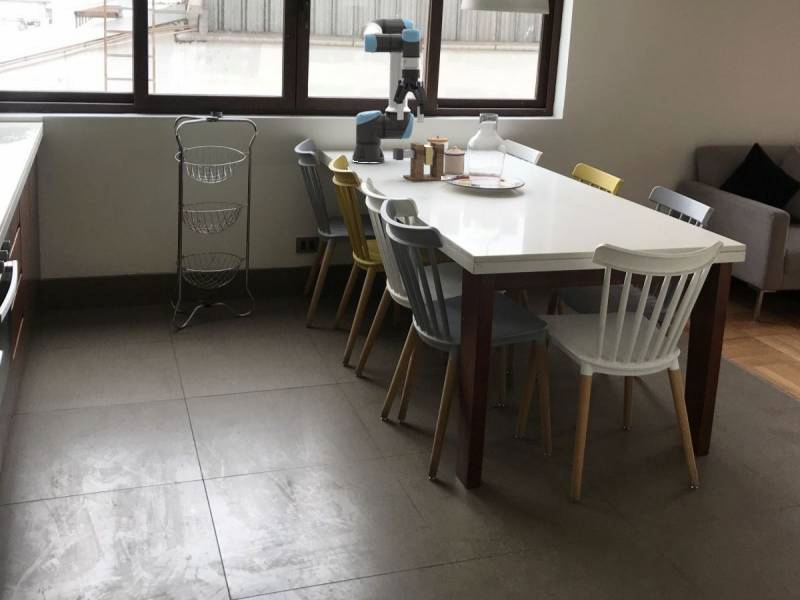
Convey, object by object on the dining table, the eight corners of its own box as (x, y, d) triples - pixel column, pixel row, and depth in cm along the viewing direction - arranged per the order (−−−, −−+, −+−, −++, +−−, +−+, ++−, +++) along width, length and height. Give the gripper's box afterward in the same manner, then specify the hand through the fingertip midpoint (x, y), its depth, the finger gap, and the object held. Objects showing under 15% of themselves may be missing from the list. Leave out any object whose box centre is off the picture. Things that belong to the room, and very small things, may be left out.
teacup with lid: (467, 173, 417) (468, 147, 414) (449, 175, 414) (449, 148, 410) (456, 169, 428) (456, 143, 424) (437, 170, 424) (438, 144, 421)
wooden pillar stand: (403, 177, 406) (403, 142, 401) (439, 175, 411) (440, 140, 407) (413, 182, 395) (413, 145, 391) (450, 180, 401) (451, 144, 396)
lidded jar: (441, 156, 467) (441, 137, 464) (422, 154, 473) (423, 135, 470) (452, 154, 476) (452, 135, 473) (434, 152, 481) (434, 133, 479)
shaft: (393, 158, 398) (393, 148, 397) (437, 156, 404) (437, 146, 403) (396, 160, 394) (396, 149, 393) (441, 158, 401) (441, 147, 399)
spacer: (419, 162, 404) (419, 144, 402) (426, 162, 405) (426, 144, 403) (425, 165, 398) (426, 147, 395) (432, 164, 399) (432, 146, 396)
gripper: (385, 67, 396) (385, 119, 402) (422, 70, 377) (421, 124, 383) (399, 67, 400) (399, 118, 406) (437, 69, 381) (436, 123, 387)
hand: (410, 121), depth 394 cm, fingers open, 13 cm apart
